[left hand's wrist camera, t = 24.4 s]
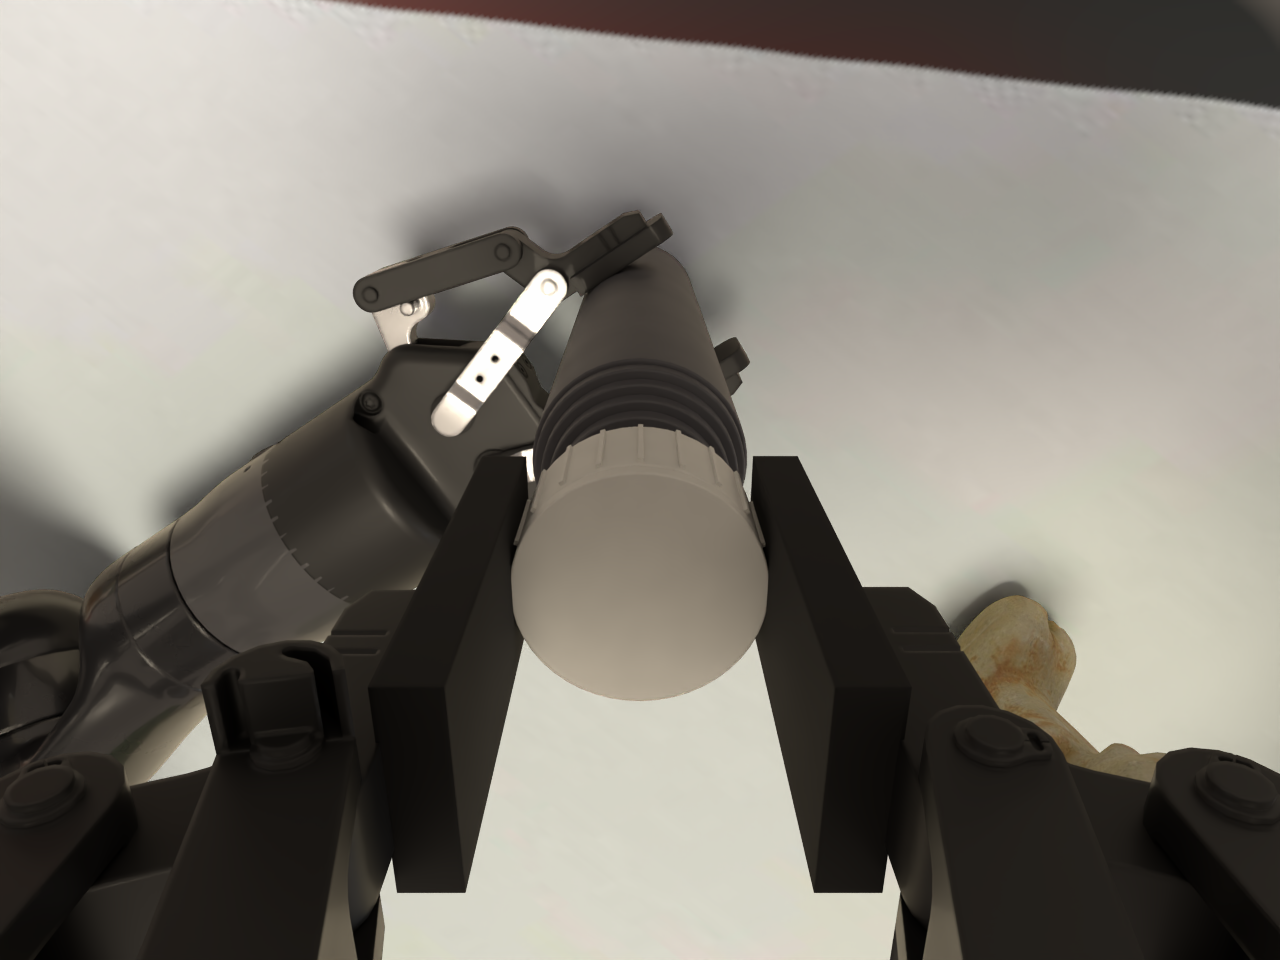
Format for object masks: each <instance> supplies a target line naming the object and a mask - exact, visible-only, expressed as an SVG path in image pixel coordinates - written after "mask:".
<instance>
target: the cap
mask: <svg viewBox="0 0 1280 960" xmlns="http://www.w3.org/2000/svg"><path fill="white" fill-rule="evenodd" d="M514 545H516V546H517V549H516V552H515V555H514V559H513V562H512V566H511V584H512V599H513V613H514V617H515V620H516V623H517V625H518V627H519V629H520V632H521V634H522V636H523V638H524V639H525V641H526V642H527V644H528V645H529V647H530V648H531V650H532V651H533V652H534V653H535V655H536V656H537V657H538V658H539V659H540V660H541V661H542V662H543V663H544V664H545V665H546V666H547V667H548V668H549V669H550V670H552V671H553V672H554V673H555V674H557V675H558V676H560V677H561V678H563V679H564V680H566V681H567V682H569V683H571V684H573V685H575V686H577V687H579V688H581V689H583V690H586V691H589V692H591V693H594V694H597V695H601V696H605V697H608V698H614V699H620V700H631V701H648V700H660V699H665V698H671V697H675V696H679V695H682V694H685V693H689V692H691V691H693V690H696V689H698V688H700V687H703V686H705V685H706V684H708V683H710V682H712V681H713V680H715V679H717V678H718V677H720V676H721V675H722V674H724V673H725V672H726V671H728V670H729V669H730V668H731V667H732V666H733V665H734V664H735V663H736V662H737V661H739V660H740V659H741V657H742V656H743V655H744V654H745V652H746V651H747V650H748V649H749V647H750V646H751V644H752V643H753V641H754V639H755V638H756V636H757V634H758V632H759V630H760V628H761V626H762V623H763V621H764V618H765V614H766V606H767V591H768V566H767V561H766V557H765V554H764V551H763V547H765V546H766V543H765V540H764V537H763V534H762V530H761V527H760V524H759V521H758V518H757V514H756V511H755V508H754V505H753V502H752V501H751V502H749V501H748V498H747V495H746V492H745V490H744V489H743V486H742V482H741V479H740V476H739V473H738V472H737V471H735V472H733V471H732V469H731V468H730V467H729V466H728V465H727V464H726V463H725V461H724V460H723V459H722V458H721V457H720V456H718V455H717V454H716V453H715V450H714V448H713V447H712V446H709V448H708V447H706V446H705V445H703V444H702V443H700V442H698V441H697V440H694V439H692V438H690V437H688V436H686V435H683V434H681V431H680V430H676V431H675V432H674V431H670V430H666V429H660V428H654V427H643V424H638V427H626V428H619V429H614V430H609V431H606V430H605V429H603V430H600V433H599V434H596V435H594V436H591V437H589V438H587V439H585V440H583V441H581V442H579V443H577V444H576V445H574V446H573V447H572V446H571V445H569V446H568V447H567V448H566V452H565V453H563V454H562V455H561V456H560V457H559V458H558V459H557V460H555V462H554V463H553V464H552V465H551V466H550V467H549V468H548V470H547V471H546V470H545V469H544V470H543V471H542V472H541V475H540V479H539V482H538V485H537V487H536V489H535V491H534V494H533V496H532V499H531V500H527V502H526V506H525V509H524V512H523V515H522V518H521V522H520V525H519V528H518V531H517V534H516V538H515V541H514Z"/></svg>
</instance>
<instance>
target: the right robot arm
mask: <svg viewBox="0 0 1280 960" xmlns="http://www.w3.org/2000/svg"><path fill="white" fill-rule="evenodd" d="M672 235H673V232H672V230H671V228H670V226H669V225H668V223H667V221H666V220H665V218H664V217H663V215H662V213H660V214H658V215H656V216H654V217H653V218H651V219H650V220H648V221H647V222H646V221H645V219H644V217H643V216H642V214H641V212H640V211H639V210H636V211H631V212H626V213H623V214H622V215H620V216H619V217H617V218H616V219H614V220H613V221H611V222H610V223H608V224H607V225H605V226H604V227H602V228H601V229H600V230H598V231H596V232H595V233H593V234H592V235H591V236H589V237H588V238H586V239H585V240H583V241H582V242H580V243H579V244H577V245H576V246H574V247H573V248H571V249H570V250H568V251H567V252H564V253H561V254H552V253H549V252H546V251H545V250H543V249H542V248H540V247H539V246H538V245H536V244H535V243H534V242H532V241H531V240H530V239H529V238H528V236H527V234H526V233H525V232H524V231H523V230H522V229H520V228H518V227H513V226H512V227H506V228H503V229H500V230H497V231H494V232H491V233H488V234H485V235H482V236H479V237H476V238H473V239H469V240H466V241H463V242H460V243H457V244H454V245H451V246H448V247H445V248H442V249H439V250H436V251H433V252H430V253H427V254H424V255H420V256H417V257H414V258H411V259H408V260H405V261H402V262H399V263H396V264H393V265H390V266H387V267H384V268H381V269H379V270H377V271H375V272H373V273H371V274H369V275H367V276H365V277H363V278H361V279H360V280H358V281H357V282H356V284H355V286H354V288H353V297H354V300H355V302H356V304H357V305H358V306H359V307H360V308H361V309H363V310H364V311H366V312H371V313H372V314H373V317H374V319H375V321H376V324H377V326H378V328H379V331H380V333H381V336H382V338H383V340H384V343H385V345H386V347H387V350H388V353H387V354H386V355H385V356H384V358H383V359H382V361H381V364H380V366H379V369H378V371H377V373H376V374H375V376H374V377H373V378H372V379H371V380H370V381H368V382H367V383H365V384H364V385H363V386H361V387H360V388H358V389H357V390H355V391H354V392H352V393H351V394H349V395H348V396H346V397H345V398H343V399H342V400H340V401H339V402H338V403H336V404H335V405H333V406H332V407H330V408H329V409H327V410H326V411H324V412H323V413H321V414H320V415H318V416H317V417H315V418H314V419H312V420H311V421H310V422H308V423H307V424H305V425H304V426H302V427H301V428H299V429H298V430H296V431H295V432H293V433H292V434H290V435H289V436H287V437H286V438H285V439H283V440H282V441H280V442H279V443H277V444H276V445H273V446H270V447H268V448H266V449H264V450H262V451H260V452H259V453H257V454H256V455H254V456H253V458H252V459H251V460H250V462H249V463H247V464H246V465H245V466H243V467H242V468H240V469H239V470H237V471H236V472H234V473H233V474H231V475H230V476H228V477H227V478H226V479H224V480H223V481H222V482H221V483H220V484H218V485H217V486H216V487H215V488H214V489H213V490H212V491H211V492H210V493H208V494H207V495H206V496H205V497H204V498H203V499H202V500H201V501H200V502H199V503H198V504H197V505H196V506H195V507H193V508H192V509H191V510H189V511H188V512H187V513H186V514H184V515H183V516H181V517H180V518H178V519H177V520H176V521H174V522H173V523H171V524H170V525H168V526H167V527H165V528H164V529H162V530H161V531H159V532H158V533H156V534H155V535H153V536H152V537H150V538H149V539H147V540H146V541H144V542H143V543H142V544H140V545H139V546H137V547H135V548H133V549H132V550H130V551H129V552H128V553H126V554H125V555H123V556H122V557H120V558H119V559H118V560H116V561H115V562H113V563H112V564H111V565H110V566H108V567H107V568H106V569H105V570H104V571H103V572H102V573H101V574H100V575H99V576H98V577H97V578H96V579H95V581H94V582H93V583H92V584H91V586H90V587H89V589H88V591H87V593H86V595H85V597H84V599H83V598H81V597H78V596H76V595H73V594H70V593H66V592H62V591H58V590H47V589H41V590H29V591H23V592H18V593H13V594H8V595H4V596H0V778H1V777H3V776H5V775H7V774H9V773H11V772H14V771H16V770H18V769H20V768H22V767H24V766H26V765H28V764H30V763H32V762H35V761H38V760H41V759H46V758H48V757H52V756H56V755H60V754H66V753H76V752H87V751H91V752H97V753H102V754H107V755H112V756H113V757H114V758H115V759H116V760H117V761H119V762H120V763H121V764H122V765H123V766H124V769H125V772H126V776H127V779H128V783H129V786H131V785H136V784H141V783H145V782H148V780H149V779H150V778H151V777H152V776H153V775H154V774H155V773H156V772H157V771H158V770H159V769H160V768H161V766H162V765H163V764H164V763H165V762H166V761H167V759H168V758H169V757H170V756H171V755H172V753H173V752H174V751H175V750H176V749H177V747H178V746H179V745H180V744H181V742H182V741H183V740H184V739H185V738H186V737H187V736H188V734H189V733H190V732H191V731H192V730H193V729H194V728H195V727H196V726H197V725H198V724H199V723H200V721H201V720H202V719H203V718H204V717H205V716H206V715H207V711H206V707H205V703H204V698H203V694H202V690H201V683H202V682H203V681H204V680H205V678H206V677H207V676H208V675H209V673H210V672H211V671H212V670H213V669H214V668H215V667H217V666H218V665H220V664H222V663H223V662H225V661H226V660H228V659H229V658H231V657H232V656H234V655H236V654H239V653H241V652H244V651H246V650H249V649H251V648H254V647H257V646H259V645H264V644H269V643H274V642H279V641H284V640H313V641H317V642H323V641H325V640H326V638H327V636H328V635H331V630H332V628H333V627H334V625H335V624H336V622H337V620H338V619H339V617H340V616H341V614H342V612H343V611H344V609H345V608H347V607H348V606H349V605H351V604H352V603H354V602H355V601H356V600H358V599H359V598H361V597H362V596H363V595H365V594H366V593H368V592H369V591H370V590H413V589H414V588H416V587H417V586H418V584H419V582H420V580H421V578H422V576H423V574H424V572H425V570H426V568H427V566H428V564H429V562H430V560H431V558H432V556H433V554H434V552H435V550H436V548H437V546H438V544H439V542H440V540H441V538H442V536H443V534H444V532H445V530H446V528H447V526H448V524H449V522H450V520H451V518H452V516H453V514H454V512H455V510H456V508H457V506H458V504H459V502H460V500H461V498H462V496H463V494H464V492H465V490H466V487H467V485H468V483H469V481H470V479H471V477H472V475H473V473H474V471H475V469H476V467H477V465H478V463H479V461H480V459H481V457H482V456H526V459H527V478H528V497H529V500H531V499H532V496H533V494H534V491H535V489H536V487H537V486H536V482H535V478H534V473H533V463H532V458H533V445H534V439H535V434H536V431H537V428H538V425H539V422H540V419H541V417H542V414H543V411H544V408H545V405H546V403H547V400H548V397H549V394H548V393H547V392H546V391H545V390H544V389H543V388H542V387H541V386H540V383H539V381H538V378H537V375H536V373H535V370H534V367H533V366H532V364H531V363H530V362H529V360H528V359H527V357H526V356H525V354H524V353H523V351H524V350H525V349H526V347H527V346H528V345H529V343H530V342H531V341H532V339H533V338H534V336H535V335H536V334H537V332H538V331H539V330H540V328H541V327H542V326H543V325H544V323H545V322H546V321H547V319H548V318H549V317H550V316H551V314H552V313H553V312H554V310H555V309H556V308H557V306H558V305H559V304H560V303H561V301H563V300H565V299H566V298H568V297H569V296H571V295H572V294H574V293H575V292H577V291H578V293H579V294H580V296H583V295H584V294H586V293H587V292H589V291H590V290H592V289H593V288H595V287H596V286H598V285H599V284H600V283H602V282H603V281H605V280H606V279H608V278H610V277H611V276H613V275H614V274H616V273H617V272H619V271H620V270H622V269H623V268H625V267H626V266H628V265H629V264H631V263H632V262H634V261H635V260H637V259H638V258H640V257H642V256H643V255H645V254H646V253H648V252H649V251H651V250H652V249H654V248H655V247H657V246H658V245H660V244H661V243H663V242H664V241H665V240H667V239H668V238H669V237H671V236H672ZM501 272H504V273H505V274H507V275H508V276H509V277H511V278H512V279H514V280H515V281H516V282H518V283H519V284H520V285H522V286H523V287H524V288H525V290H524V291H523V292H522V294H521V295H520V296H519V298H518V299H517V300H516V302H515V303H514V304H513V306H512V307H511V308H510V310H509V311H508V312H507V314H506V315H505V316H504V318H503V319H502V320H501V322H500V323H499V324H498V326H497V327H496V328H495V330H494V331H493V332H492V334H491V335H490V336H489V338H488V339H487V340H486V342H485V341H466V340H447V339H429V338H418V337H417V334H416V328H417V325H418V323H419V321H421V320H423V319H424V318H426V317H427V316H428V315H429V314H430V313H431V312H432V311H433V309H434V307H435V297H434V294H436V293H439V292H442V291H445V290H448V289H451V288H454V287H457V286H460V285H464V284H467V283H470V282H473V281H476V280H479V279H482V278H485V277H489V276H492V275H495V274H498V273H501ZM714 350H715V353H716V356H717V359H718V362H719V364H720V367H721V370H722V373H723V376H724V379H725V381H726V384H727V387H728V390H729V393H730V396H731V395H733V394H734V393H735V391H736V390H737V389H738V387H739V386H740V385H741V384H742V380H741V378H740V375H739V372H740V371H742V370H743V369H744V368H746V367H747V366H748V365H749V363H750V361H749V359H748V357H747V355H746V353H745V351H744V349H743V348H742V346H741V344H740V343H739V341H738V340H737V338H736V337H734V338H731V339H728V340H726V341H725V342H723V343H721V344H720V345H718V346H716V347H715V348H714Z"/></svg>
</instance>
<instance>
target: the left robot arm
mask: <svg viewBox="0 0 1280 960" xmlns="http://www.w3.org/2000/svg"><path fill="white" fill-rule="evenodd" d="M527 500H529V497H528V478H527V459H526V456H482V457H481V459H480V461H479V463H478V465H477V467H476V469H475V471H474V473H473V475H472V477H471V479H470V481H469V483H468V485H467V487H466V490H465V492H464V494H463V496H462V498H461V500H460V502H459V504H458V506H457V508H456V510H455V512H454V514H453V516H452V518H451V520H450V522H449V524H448V526H447V528H446V530H445V532H444V534H443V536H442V538H441V540H440V542H439V544H438V546H437V548H436V550H435V552H434V554H433V556H432V558H431V560H430V562H429V564H428V566H427V568H426V570H425V572H424V574H423V576H422V578H421V580H420V582H419V584H418V586H417V588H416V590H370V591H369V592H368V593H366V594H365V595H363V596H362V597H361V598H359V599H358V600H356V601H355V602H354V603H352V604H351V605H349V606H348V607H347V608H345V609H344V611H343V612H342V614H341V616H340V617H339V619H338V620H337V622H336V624H335V625H334V627H333V628H332V630H331V635H328V636H327V638H326V640H325V641H324V643H320V642H317V641H313V640H284V641H279V642H274V643H269V644H264V645H259V646H257V647H254V648H251V649H249V650H246V651H244V652H241V653H239V654H236V655H234V656H232V657H231V658H229V659H228V660H226V661H225V662H223V663H222V664H220V665H218V666H217V667H215V668H214V669H213V670H212V671H211V672H210V673H209V675H208V676H207V677H206V678H205V680H204V681H203V682H202V683H201V690H202V694H203V698H204V703H205V707H206V711H207V716H208V720H209V724H210V729H211V733H212V737H213V741H214V746H215V750H216V754H217V755H216V757H215V760H214V762H213V765H212V766H211V767H208V768H205V769H201V770H198V771H194V772H191V773H187V774H183V775H178V776H173V777H169V778H164V779H159V780H155V781H150V782H145V783H141V784H136V785H131V786H129V783H128V779H127V776H126V772H125V769H124V766H123V765H122V764H121V763H120V762H119V761H117V760H116V759H115V758H114V757H113V756H112V755H107V754H102V753H97V752H91V751H87V752H76V753H66V754H60V755H56V756H52V757H48V758H46V759H41V760H38V761H35V762H32V763H30V764H28V765H26V766H24V767H22V768H20V769H18V770H16V771H14V772H11V773H9V774H7V775H5V776H3V777H1V778H0V960H382V952H383V942H384V931H385V925H384V918H383V912H382V905H381V899H380V891H381V888H382V885H383V882H384V879H385V876H386V873H387V870H388V867H389V864H390V861H391V859H392V861H393V868H394V875H395V882H396V889H397V893H465V892H466V888H467V884H468V879H469V875H470V871H471V866H472V862H473V858H474V853H475V849H476V845H477V840H478V836H479V832H480V827H481V823H482V819H483V814H484V810H485V806H486V801H487V797H488V793H489V788H490V784H491V780H492V775H493V771H494V767H495V762H496V758H497V754H498V749H499V745H500V741H501V736H502V732H503V728H504V723H505V719H506V715H507V710H508V706H509V702H510V697H511V693H512V689H513V684H514V680H515V676H516V671H517V667H518V663H519V658H520V654H521V650H522V645H523V641H524V638H523V636H522V634H521V632H520V629H519V627H518V625H517V623H516V620H515V617H514V613H513V599H512V584H511V566H512V562H513V559H514V555H515V552H516V549H517V546H516V545H514V541H515V538H516V534H517V531H518V528H519V525H520V522H521V518H522V515H523V512H524V509H525V506H526V502H527ZM751 501H752V502H753V505H754V508H755V511H756V514H757V518H758V521H759V524H760V527H761V530H762V534H763V537H764V540H765V543H766V546H765V547H763V551H764V554H765V557H766V561H767V566H768V591H767V606H766V614H765V618H764V621H763V623H762V626H761V628H760V630H759V632H758V634H757V636H756V638H755V639H756V643H757V647H758V652H759V656H760V660H761V665H762V669H763V673H764V678H765V682H766V686H767V691H768V695H769V699H770V704H771V708H772V712H773V717H774V721H775V725H776V730H777V734H778V738H779V743H780V747H781V752H782V756H783V760H784V765H785V769H786V773H787V778H788V782H789V786H790V791H791V795H792V799H793V804H794V808H795V812H796V817H797V821H798V825H799V830H800V834H801V838H802V843H803V847H804V851H805V856H806V860H807V864H808V869H809V873H810V877H811V882H812V886H813V890H814V893H882V892H883V885H884V878H885V871H886V864H887V857H888V856H889V859H890V862H891V865H892V868H893V871H894V873H895V876H896V879H897V882H898V885H899V888H900V891H901V892H900V899H899V905H898V912H897V918H896V925H895V931H894V938H893V944H892V951H891V957H890V960H1280V774H1279V773H1277V772H1275V771H1273V770H1271V769H1269V768H1267V767H1264V766H1262V765H1260V764H1258V763H1256V762H1254V761H1252V760H1250V759H1247V758H1244V757H1241V756H1239V755H1233V754H1232V753H1227V752H1223V751H1220V750H1211V749H1200V748H1186V749H1180V750H1175V751H1170V752H1168V753H1167V754H1166V755H1165V756H1163V757H1162V758H1161V759H1160V760H1159V761H1158V762H1157V763H1156V766H1155V770H1154V773H1153V777H1152V780H1151V782H1146V781H1142V780H1137V779H1132V778H1128V777H1123V776H1118V775H1113V774H1109V773H1104V772H1099V771H1095V770H1091V769H1087V768H1084V767H1080V766H1077V765H1073V764H1070V763H1068V762H1067V761H1066V758H1065V756H1064V754H1063V752H1062V751H1061V749H1060V748H1059V746H1058V745H1057V743H1056V742H1055V740H1054V739H1053V738H1052V736H1050V735H1049V734H1048V733H1046V732H1045V731H1044V730H1042V729H1041V728H1040V727H1038V726H1037V725H1036V724H1034V723H1033V722H1032V721H1029V720H1027V719H1025V718H1023V717H1020V716H1018V715H1016V714H1014V713H1011V712H1009V711H1006V710H1002V709H1000V708H999V707H998V705H997V703H996V702H995V700H994V699H993V697H992V696H991V694H990V692H989V691H988V689H987V688H986V686H985V684H984V683H983V681H982V680H981V678H980V677H979V675H978V673H977V672H976V670H975V669H974V667H973V665H972V664H971V662H970V661H969V659H968V657H967V656H966V654H965V653H964V651H961V649H960V645H959V643H958V642H957V640H956V638H955V637H954V635H953V634H952V632H949V627H948V626H947V624H946V623H945V621H944V619H943V618H942V616H941V615H940V613H939V612H938V610H937V608H936V607H935V606H934V605H933V604H931V603H930V602H929V601H927V600H926V599H924V598H923V597H922V596H920V595H919V594H917V593H916V592H915V591H913V590H912V589H910V588H909V587H862V586H861V583H860V581H859V579H858V577H857V575H856V573H855V571H854V569H853V567H852V565H851V563H850V561H849V559H848V557H847V555H846V553H845V551H844V549H843V547H842V545H841V543H840V541H839V539H838V537H837V535H836V533H835V531H834V529H833V527H832V525H831V523H830V521H829V519H828V517H827V515H826V513H825V511H824V509H823V507H822V505H821V503H820V501H819V499H818V497H817V495H816V493H815V491H814V489H813V487H812V485H811V483H810V481H809V478H808V476H807V474H806V472H805V470H804V468H803V466H802V464H801V462H800V460H799V458H798V456H753V468H752V487H751Z"/></svg>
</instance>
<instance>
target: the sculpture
mask: <svg viewBox="0 0 1280 960" xmlns="http://www.w3.org/2000/svg"><path fill="white" fill-rule="evenodd" d="M957 642H958V643H959V645H960V649H961V651H964V653H965V654H966V656H967V657H968V659H969V661H970V662H971V664H972V665H973V667H974V669H975V670H976V672H977V673H978V675H979V677H980V678H981V680H982V681H983V683H984V684H985V686H986V688H987V689H988V691H989V692H990V694H991V696H992V697H993V699H994V700H995V702H996V703H997V705H998V707H999V708H1000V709H1002V710H1006V711H1009V712H1011V713H1014V714H1016V715H1018V716H1020V717H1023V718H1025V719H1027V720H1029V721H1032V722H1033V723H1034V724H1036V725H1037V726H1038V727H1040V728H1041V729H1042V730H1044V731H1045V732H1046V733H1048V734H1049V735H1050V736H1052V738H1053V739H1054V740H1055V742H1056V743H1057V745H1058V746H1059V748H1060V749H1061V751H1062V752H1063V754H1064V756H1065V758H1066V761H1067V762H1068V763H1070V764H1073V765H1077V766H1080V767H1084V768H1087V769H1091V770H1095V771H1099V772H1104V773H1109V774H1113V775H1118V776H1123V777H1128V778H1132V779H1137V780H1142V781H1146V782H1151V780H1152V777H1153V773H1154V770H1155V766H1156V763H1157V762H1158V761H1159V760H1160V759H1161V758H1162V757H1163V756H1165V755H1166V753H1158V752H1157V753H1149V754H1139V753H1138V752H1137V751H1135V750H1134V749H1133V748H1131V747H1129V746H1127V745H1124V744H1118V743H1114V744H1111V745H1110V746H1108V747H1107V748H1106V749H1104V750H1103V751H1102V752H1100V753H1099V752H1098V751H1097V750H1096V749H1095V748H1094V747H1093V746H1092V745H1091V744H1090V743H1089V742H1088V741H1087V740H1086V739H1085V738H1084V737H1083V736H1082V735H1081V734H1080V733H1079V732H1078V731H1077V730H1076V729H1075V728H1074V727H1072V726H1071V725H1070V724H1069V723H1068V722H1067V721H1066V720H1065V719H1064V718H1063V717H1062V716H1061V715H1060V714H1059V713H1058V712H1056V710H1057V708H1058V706H1059V704H1060V702H1061V700H1062V697H1063V695H1064V693H1065V691H1066V689H1067V687H1068V684H1069V682H1070V679H1071V677H1072V675H1073V672H1074V669H1075V666H1076V653H1075V648H1074V645H1073V643H1072V640H1071V639H1070V637H1069V636H1068V634H1067V633H1066V632H1065V630H1064V629H1062V628H1060V627H1059V626H1058V625H1057V624H1056V623H1055V622H1054V621H1048V614H1047V612H1046V610H1045V609H1044V608H1043V607H1042V606H1041V605H1040V604H1039V603H1037V602H1035V601H1033V600H1031V599H1029V598H1026V597H1023V596H1019V595H1014V596H1008V597H1005V598H1002V599H1000V600H998V601H996V602H994V603H993V604H991V605H989V606H988V607H986V608H985V609H984V610H983V611H982V612H981V613H980V614H979V615H978V616H977V617H976V618H975V619H974V620H973V621H972V622H971V623H970V624H969V626H968V627H967V628H966V629H965V630H964V632H963V633H962V634H961V636H960V637H959V638H958V640H957Z"/></svg>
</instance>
